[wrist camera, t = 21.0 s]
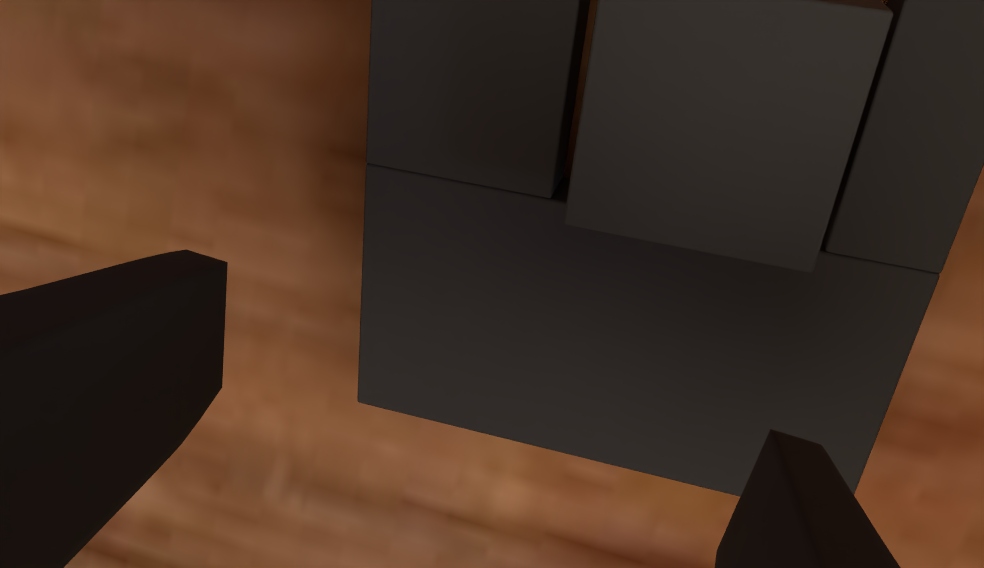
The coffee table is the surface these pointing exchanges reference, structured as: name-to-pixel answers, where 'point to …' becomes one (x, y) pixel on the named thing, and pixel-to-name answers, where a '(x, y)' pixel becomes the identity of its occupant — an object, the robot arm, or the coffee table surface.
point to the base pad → (640, 255)
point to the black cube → (723, 122)
